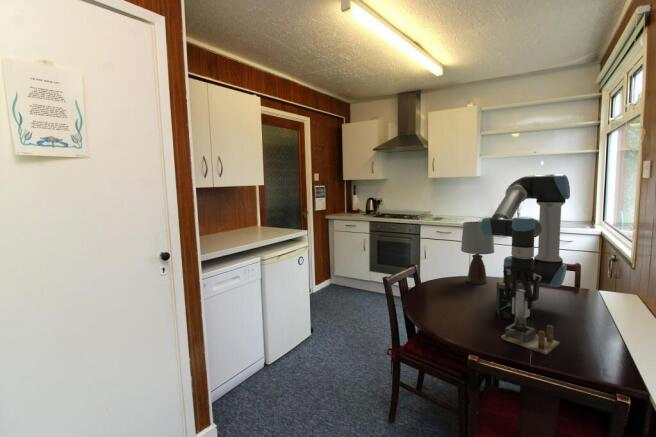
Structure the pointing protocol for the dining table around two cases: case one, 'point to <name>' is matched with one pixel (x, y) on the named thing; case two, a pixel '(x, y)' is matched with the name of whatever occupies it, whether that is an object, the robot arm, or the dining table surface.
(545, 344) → the beige peg board
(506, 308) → the tampon box
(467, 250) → the lamp
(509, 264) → the robot arm
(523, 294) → the pin
